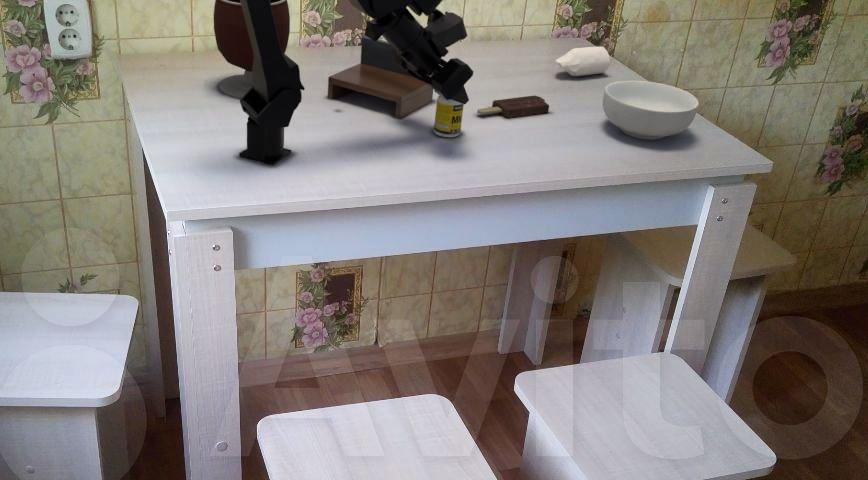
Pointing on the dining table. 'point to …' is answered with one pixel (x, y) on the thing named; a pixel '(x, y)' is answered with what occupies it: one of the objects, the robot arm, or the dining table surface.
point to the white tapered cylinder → (585, 61)
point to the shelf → (381, 79)
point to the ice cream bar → (517, 107)
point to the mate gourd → (243, 40)
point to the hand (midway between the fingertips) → (457, 96)
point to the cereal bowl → (648, 108)
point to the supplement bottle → (448, 117)
